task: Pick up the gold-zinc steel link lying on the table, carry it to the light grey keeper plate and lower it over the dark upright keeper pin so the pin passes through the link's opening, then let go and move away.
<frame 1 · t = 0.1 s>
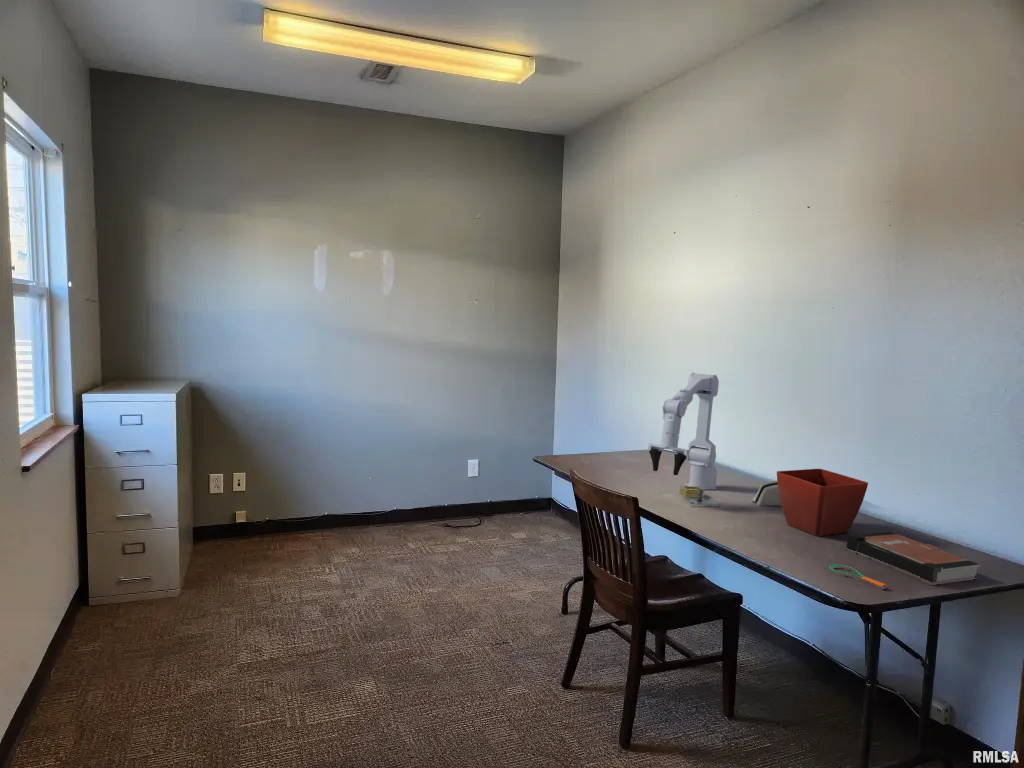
hand: (665, 473, 231), 11 cm above the table, tool pointing down, fingers open, 7 cm apart
book: (909, 566, 182), on the table
link: (691, 495, 243), on the table
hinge: (777, 505, 237), on the table
plant pot: (816, 529, 210), on the table
keeper plate: (699, 503, 233), on the table
green orange wire loop: (856, 580, 170), on the table
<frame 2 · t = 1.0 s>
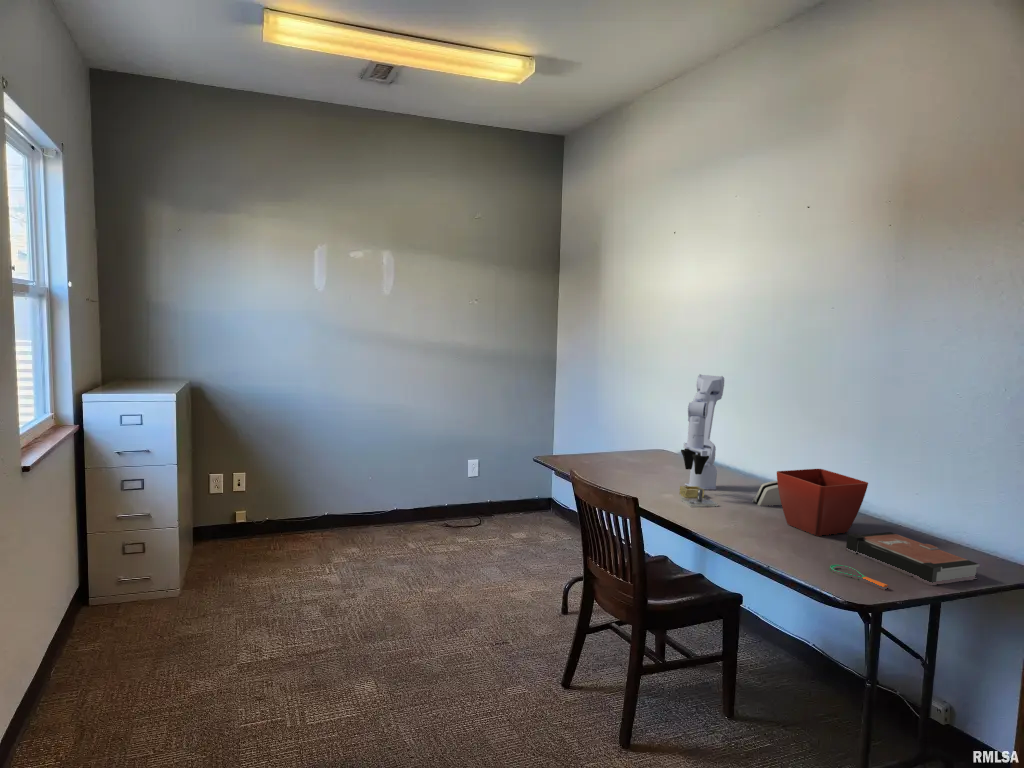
hand: (693, 471, 242), 9 cm above the table, tool pointing down, fingers open, 7 cm apart
nothing on the table moved.
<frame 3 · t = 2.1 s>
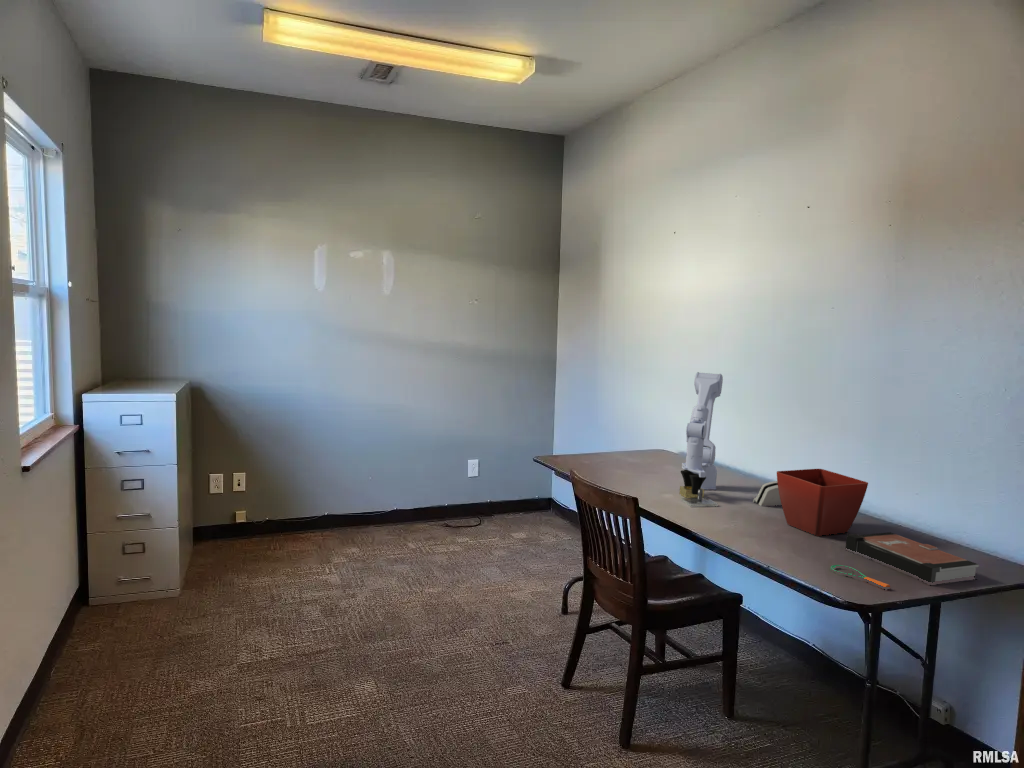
hand: (691, 492, 243), 1 cm above the table, tool pointing down, fingers closed on link, 5 cm apart
link: (691, 495, 243), on the table, touching gripper
everything else where it was.
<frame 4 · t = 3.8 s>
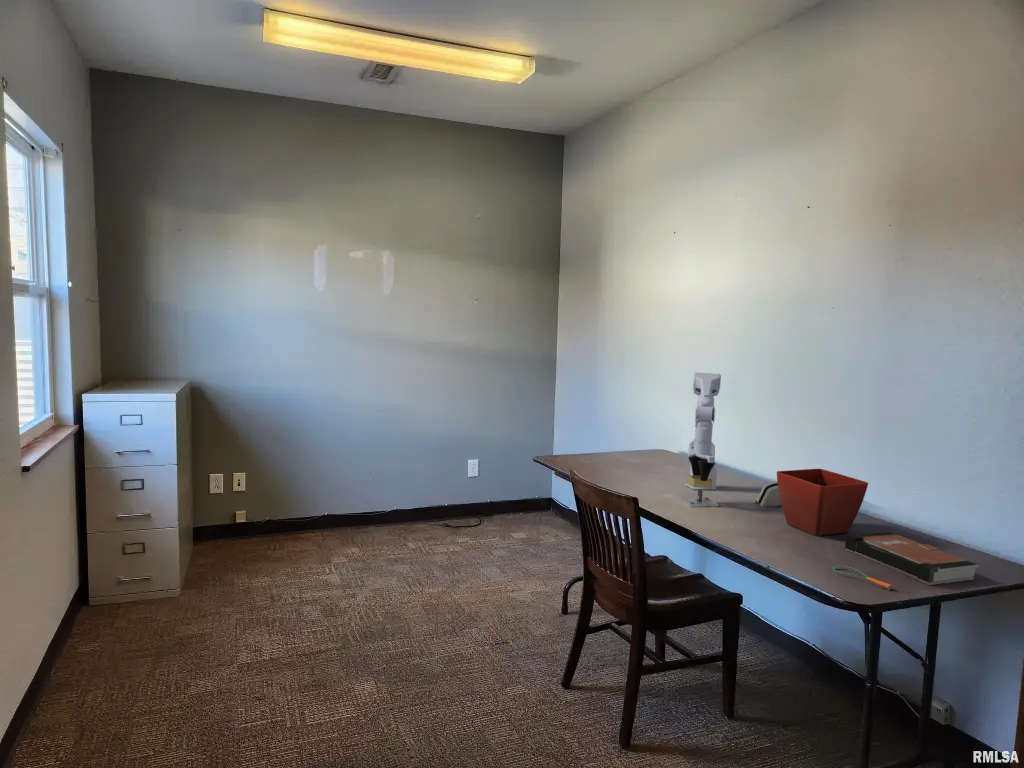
hand: (700, 478, 233), 9 cm above the table, tool pointing down, fingers closed on link, 5 cm apart
link: (699, 485, 234), point 6 cm above the table, touching gripper
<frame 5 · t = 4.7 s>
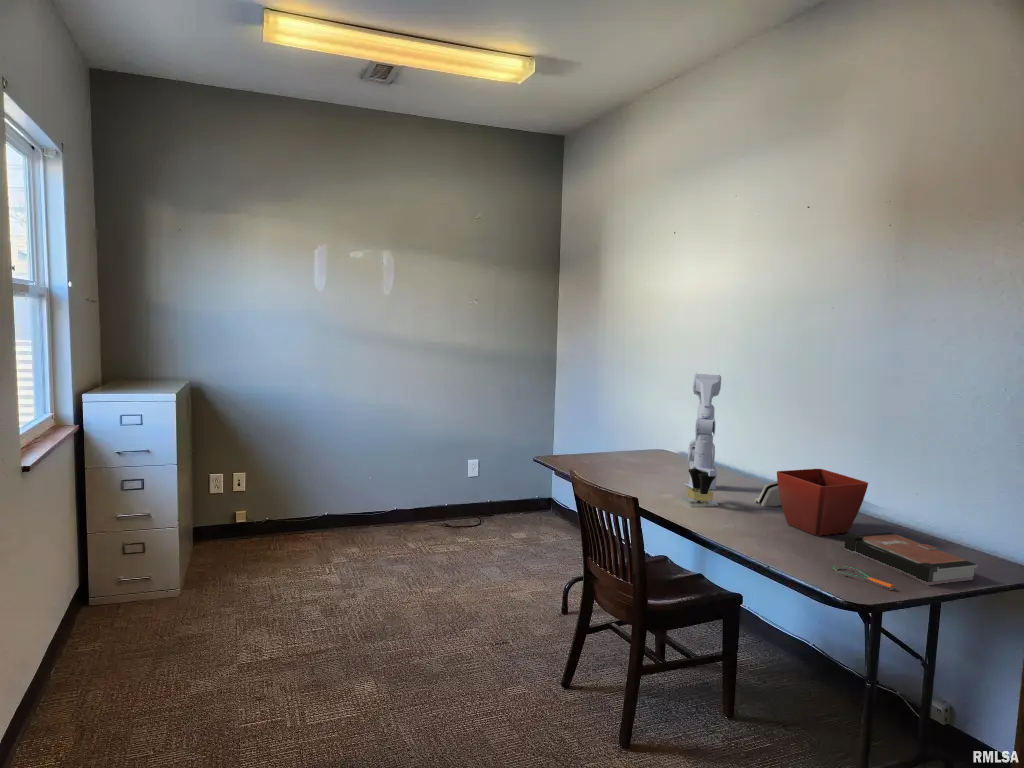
hand: (700, 491, 233), 4 cm above the table, tool pointing down, fingers closed on link, 5 cm apart
link: (699, 498, 233), point 2 cm above the table, touching gripper
when the fingers open (4 cm above the table, at t = 5.3 s): link stays where it is, resting on keeper plate.
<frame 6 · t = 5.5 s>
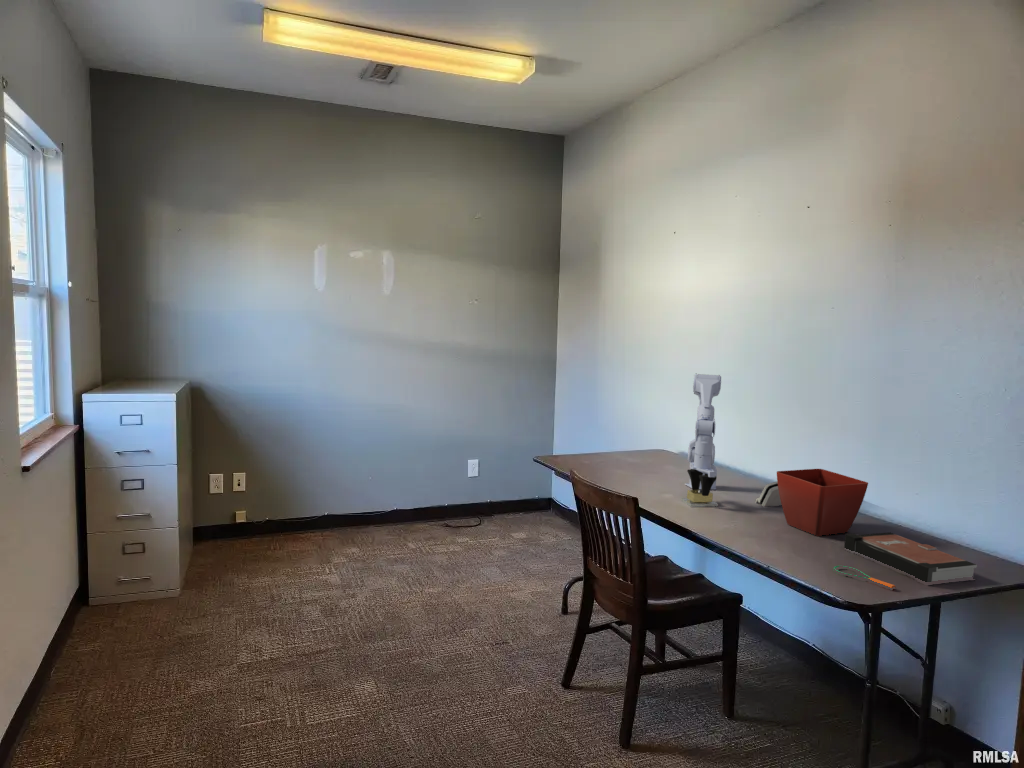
hand: (700, 492, 233), 4 cm above the table, tool pointing down, fingers open, 7 cm apart
link: (699, 500, 233), point 1 cm above the table, touching keeper plate
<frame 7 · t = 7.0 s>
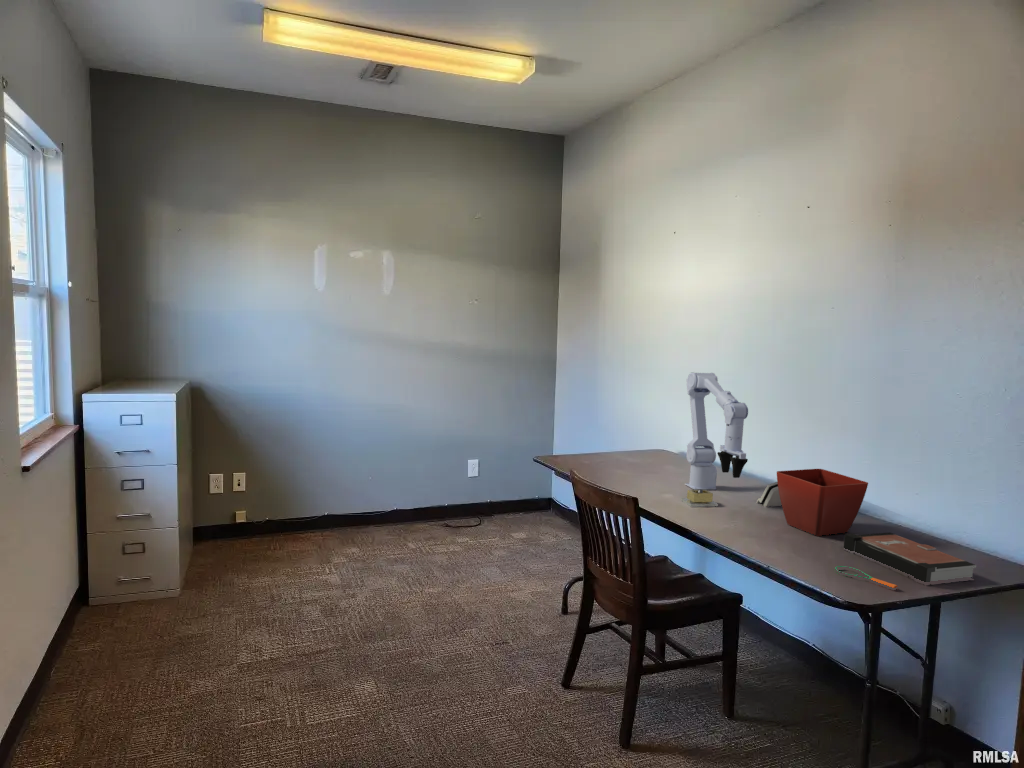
hand: (730, 474, 236), 10 cm above the table, tool pointing down, fingers open, 7 cm apart
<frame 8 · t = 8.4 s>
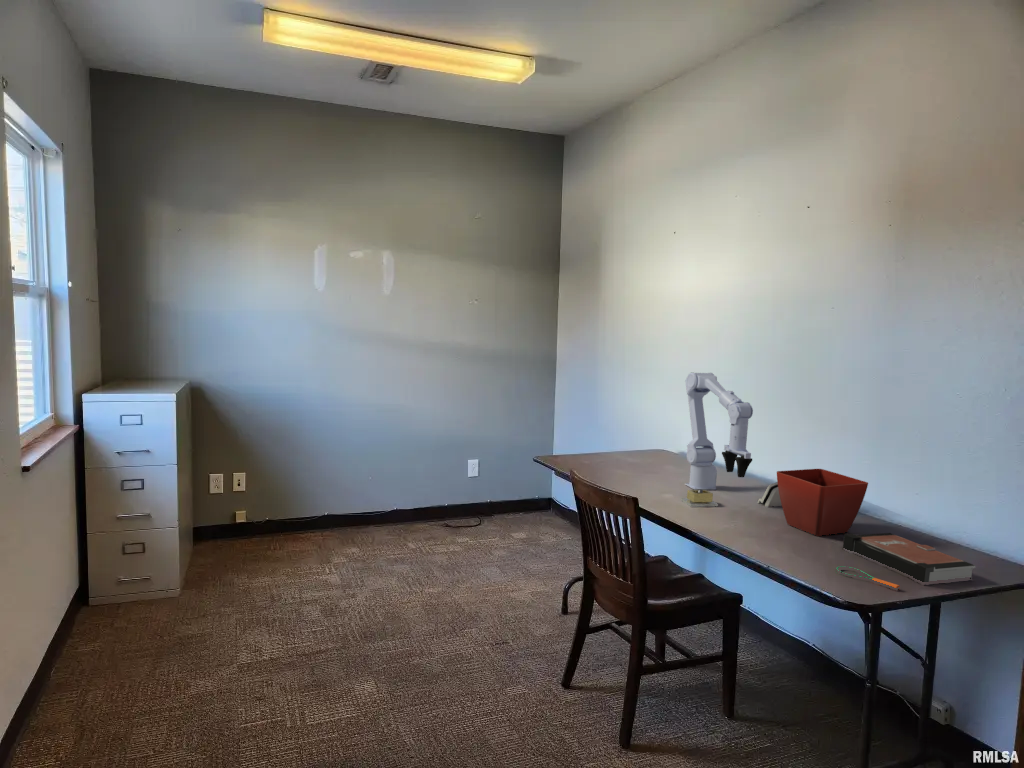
hand: (735, 474, 237), 10 cm above the table, tool pointing down, fingers open, 7 cm apart
at the end: link 0.1 cm off-centre on the keeper plate, point 1.3 cm above the keeper plate's base; the gripper is holding nothing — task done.
